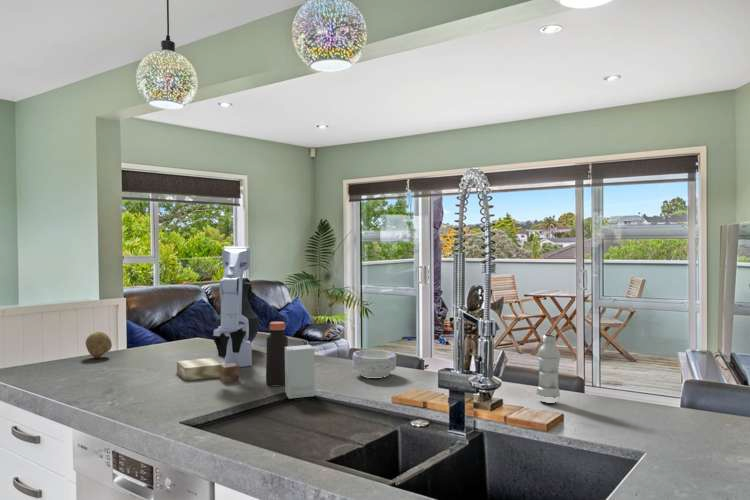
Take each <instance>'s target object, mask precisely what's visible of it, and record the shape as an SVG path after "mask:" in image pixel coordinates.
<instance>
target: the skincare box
mask: <svg viewBox="0 0 750 500" xmlns="http://www.w3.org/2000/svg"><path fill="white" fill-rule="evenodd" d="M315 377H316V376H315V348H314V347H313V346H312V344H302V345H289V346H288V347H285V385H284V386H285V387H284V393H286V394H285V395H286V397H287V398H288V399H289V400H290V399H298V398H306V397H308V398H310V397H315V396H316V394H315V393H316V390H315V389H316V386H315Z"/></svg>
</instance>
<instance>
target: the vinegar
mask: <svg viewBox="0 0 750 500" xmlns="http://www.w3.org/2000/svg"><path fill="white" fill-rule="evenodd" d="M285 331H286V322H284V321H271V322H270V323H269V332H270V333H269V335H268V336H267V337H266V351H265V352H266V354H265V355H266V357H265V358H266V359H265V361H266V365H265V367H266V368H265V369H266V371H265V372H266V373H265V384H266V385H267V384H268V385H267V386H269V385H283V384H285V347H289V346H288V345H289V338H288V336H287V335H286V334H285ZM283 386H284V385H283Z"/></svg>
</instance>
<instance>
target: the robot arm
mask: <svg viewBox="0 0 750 500" xmlns="http://www.w3.org/2000/svg"><path fill="white" fill-rule="evenodd" d="M221 251H222V253H221V260H222V263H223V264H222V265H223V267H224V269H223V275H222V279H220V280H219V297H220V298H219V299H220V314H221V326H218V329H216V328H215V329H213V334H212V336H211V338H212V340H213V342H214V344H215V347H216V349H217V352H218V357H219V358H224V361H223V362H220V364H230V363H235V364H237V365H238V366H239V368H240V367H241V368H242V367H252V366H253V364H252V363H253V362H252V360H253V359H252V357H253V356H252V353H253V352H252V342H251V343H250V341H245V340H247V339H248V337H249V325H248V324H249V322H248V319H247V318H246V317H244V316H243V315H242V314H241V308H242V278H244V274H245V271H247V270H249V269H250V261H251V248H250V246H248V245H247V246H229V245H228V246H226V245H224V246H223V247H222V250H221ZM239 323H244V324H239Z"/></svg>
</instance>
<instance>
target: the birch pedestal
mask: <svg viewBox="0 0 750 500" xmlns="http://www.w3.org/2000/svg"><path fill="white" fill-rule="evenodd" d="M220 364H221V362H218V361H217V360H216V359H214V358H212V357H207V358H198V359H196V358H195V359H187V360H186V359H185V360H177V361H176V374H177V375H179V376H180V377H181V378H182V379H183V381H191V380H198V379H211V378H217V377H219V378H220Z"/></svg>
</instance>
